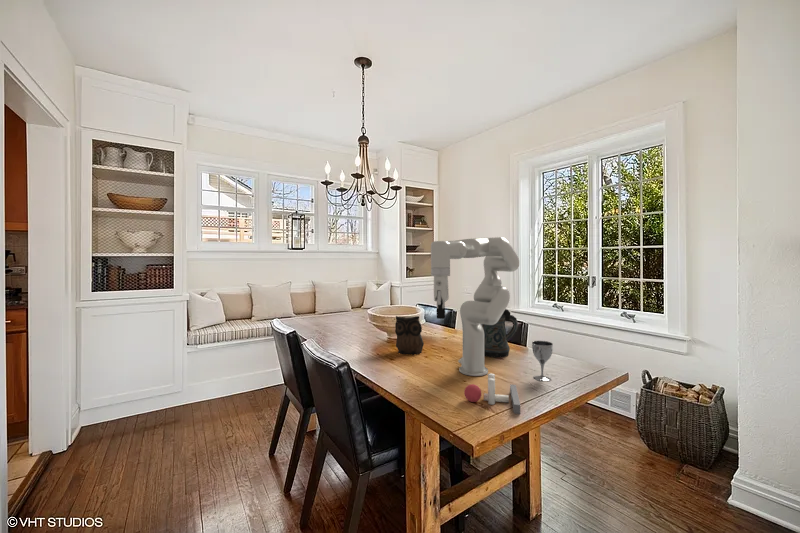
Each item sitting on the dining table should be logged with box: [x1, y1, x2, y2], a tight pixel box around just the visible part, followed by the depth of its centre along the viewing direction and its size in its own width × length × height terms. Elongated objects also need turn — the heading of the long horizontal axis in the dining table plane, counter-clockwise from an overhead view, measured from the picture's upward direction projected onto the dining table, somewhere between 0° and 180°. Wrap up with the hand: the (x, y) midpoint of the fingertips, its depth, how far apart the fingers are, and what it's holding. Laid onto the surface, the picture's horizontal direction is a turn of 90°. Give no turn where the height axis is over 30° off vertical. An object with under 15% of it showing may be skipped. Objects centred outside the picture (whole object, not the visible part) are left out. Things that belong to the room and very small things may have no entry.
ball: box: [463, 383, 482, 403], centre depth 125 cm, size 6×6×6 cm
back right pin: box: [487, 378, 496, 406], centre depth 124 cm, size 2×2×8 cm
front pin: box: [483, 393, 510, 404], centre depth 126 cm, size 2×2×8 cm
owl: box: [394, 315, 425, 356], centre depth 188 cm, size 13×13×20 cm
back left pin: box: [487, 373, 496, 380], centre depth 128 cm, size 2×2×8 cm
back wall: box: [509, 384, 521, 415], centre depth 124 cm, size 18×2×3 cm, turn 166°
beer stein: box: [481, 308, 519, 358], centre depth 185 cm, size 16×19×25 cm
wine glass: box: [531, 340, 554, 382], centre depth 147 cm, size 8×8×15 cm
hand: (440, 318), depth 140 cm, fingers closed
